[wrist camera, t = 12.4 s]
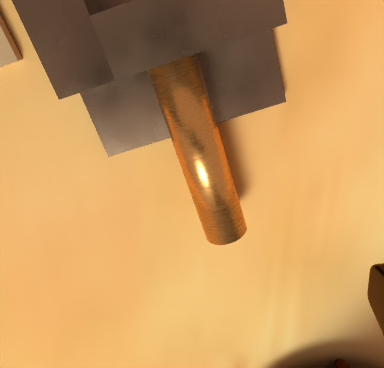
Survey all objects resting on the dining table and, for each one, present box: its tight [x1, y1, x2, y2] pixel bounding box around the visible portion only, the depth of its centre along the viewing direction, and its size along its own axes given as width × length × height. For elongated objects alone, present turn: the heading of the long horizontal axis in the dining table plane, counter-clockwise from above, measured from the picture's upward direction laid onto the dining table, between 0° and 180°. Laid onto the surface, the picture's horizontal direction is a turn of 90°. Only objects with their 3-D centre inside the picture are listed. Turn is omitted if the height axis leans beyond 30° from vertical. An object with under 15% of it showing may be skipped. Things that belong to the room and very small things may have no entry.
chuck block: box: [12, 0, 287, 245], centre depth 17 cm, size 20×10×4 cm, turn 17°
